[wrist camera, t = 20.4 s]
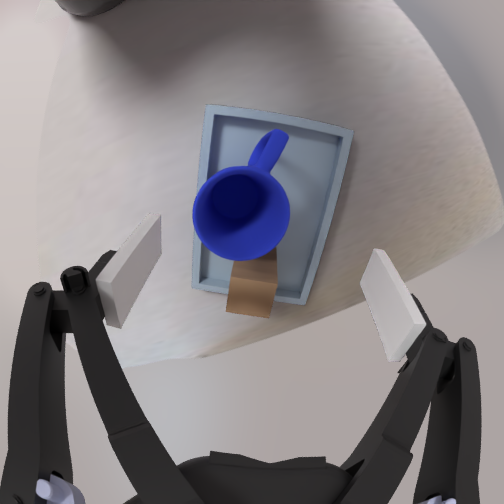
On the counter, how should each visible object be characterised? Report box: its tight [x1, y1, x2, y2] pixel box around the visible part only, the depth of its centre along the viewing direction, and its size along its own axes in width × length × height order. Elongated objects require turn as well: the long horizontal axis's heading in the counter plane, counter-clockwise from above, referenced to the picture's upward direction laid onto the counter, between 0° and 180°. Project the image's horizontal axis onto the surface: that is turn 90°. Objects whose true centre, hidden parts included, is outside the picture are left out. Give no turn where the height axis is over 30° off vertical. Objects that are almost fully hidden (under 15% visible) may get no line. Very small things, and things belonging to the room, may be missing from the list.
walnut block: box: [226, 247, 278, 318], centre depth 34 cm, size 5×5×8 cm
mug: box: [193, 129, 290, 261], centre depth 27 cm, size 8×12×10 cm
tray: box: [192, 104, 354, 305], centre depth 34 cm, size 24×16×2 cm, turn 171°
